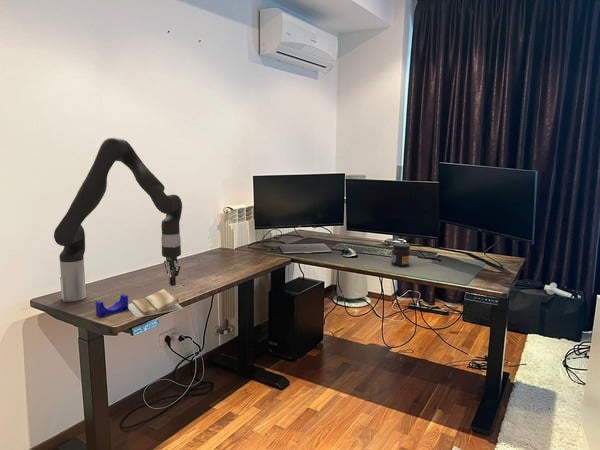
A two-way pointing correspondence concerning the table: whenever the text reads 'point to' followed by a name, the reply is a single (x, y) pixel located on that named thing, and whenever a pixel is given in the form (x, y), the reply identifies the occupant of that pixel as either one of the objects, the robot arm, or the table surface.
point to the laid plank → (144, 306)
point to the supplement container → (401, 255)
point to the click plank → (162, 300)
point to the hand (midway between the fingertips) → (172, 285)
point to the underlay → (139, 314)
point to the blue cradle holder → (112, 307)
